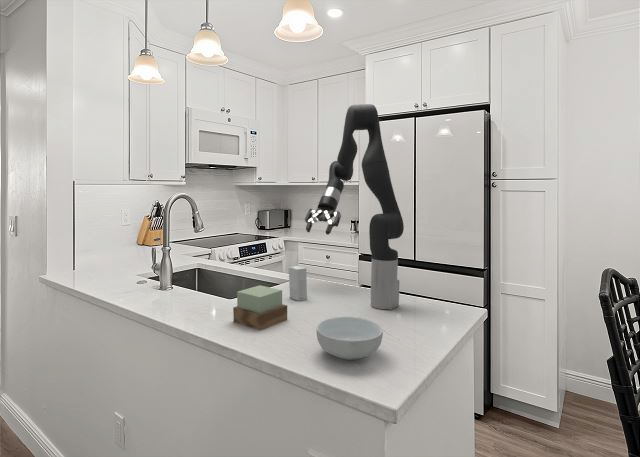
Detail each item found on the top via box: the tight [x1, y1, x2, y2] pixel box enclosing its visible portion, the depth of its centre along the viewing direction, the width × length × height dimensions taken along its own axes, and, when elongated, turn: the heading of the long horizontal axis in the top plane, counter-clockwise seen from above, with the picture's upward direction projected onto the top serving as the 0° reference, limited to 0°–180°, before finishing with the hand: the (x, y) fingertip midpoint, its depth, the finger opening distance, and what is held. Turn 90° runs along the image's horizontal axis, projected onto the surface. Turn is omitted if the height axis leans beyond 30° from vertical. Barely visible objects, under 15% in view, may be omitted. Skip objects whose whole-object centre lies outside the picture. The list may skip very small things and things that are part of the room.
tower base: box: [232, 303, 288, 331], centre depth 128 cm, size 12×12×5 cm
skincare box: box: [288, 265, 308, 302], centre depth 152 cm, size 6×4×12 cm
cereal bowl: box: [316, 316, 384, 361], centre depth 104 cm, size 17×17×7 cm
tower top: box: [236, 284, 283, 313], centre depth 128 cm, size 10×10×5 cm
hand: (317, 232), depth 160 cm, fingers open, 8 cm apart
